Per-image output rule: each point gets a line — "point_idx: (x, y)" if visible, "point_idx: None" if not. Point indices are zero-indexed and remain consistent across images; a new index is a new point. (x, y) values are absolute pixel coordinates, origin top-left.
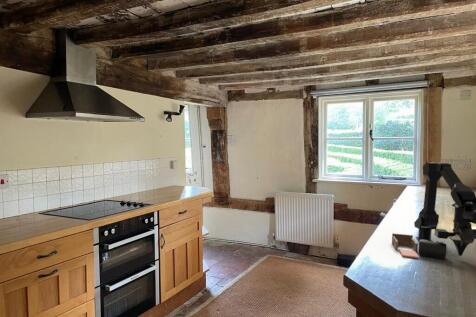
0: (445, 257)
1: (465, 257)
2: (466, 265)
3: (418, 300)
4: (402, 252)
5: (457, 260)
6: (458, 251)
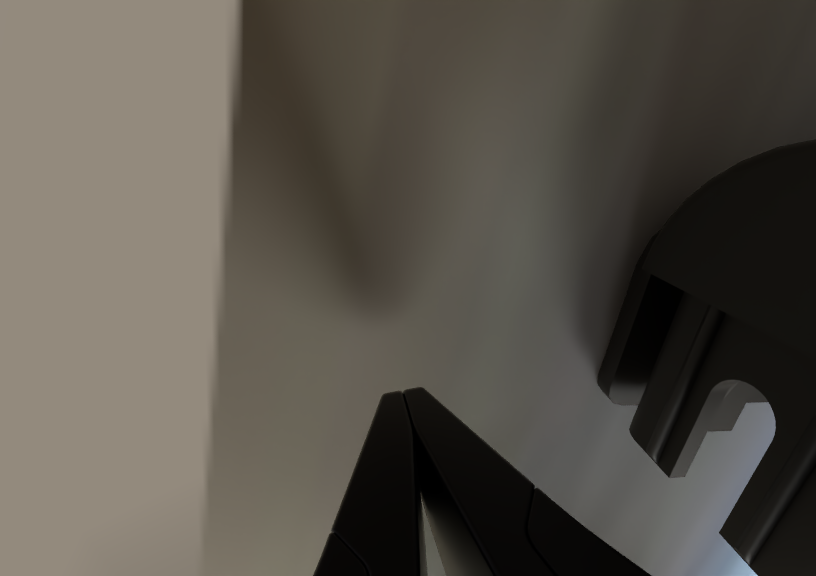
0: (694, 194)
1: (286, 503)
2: (337, 30)
3: None
4: None
5: (440, 293)
6: (473, 433)
